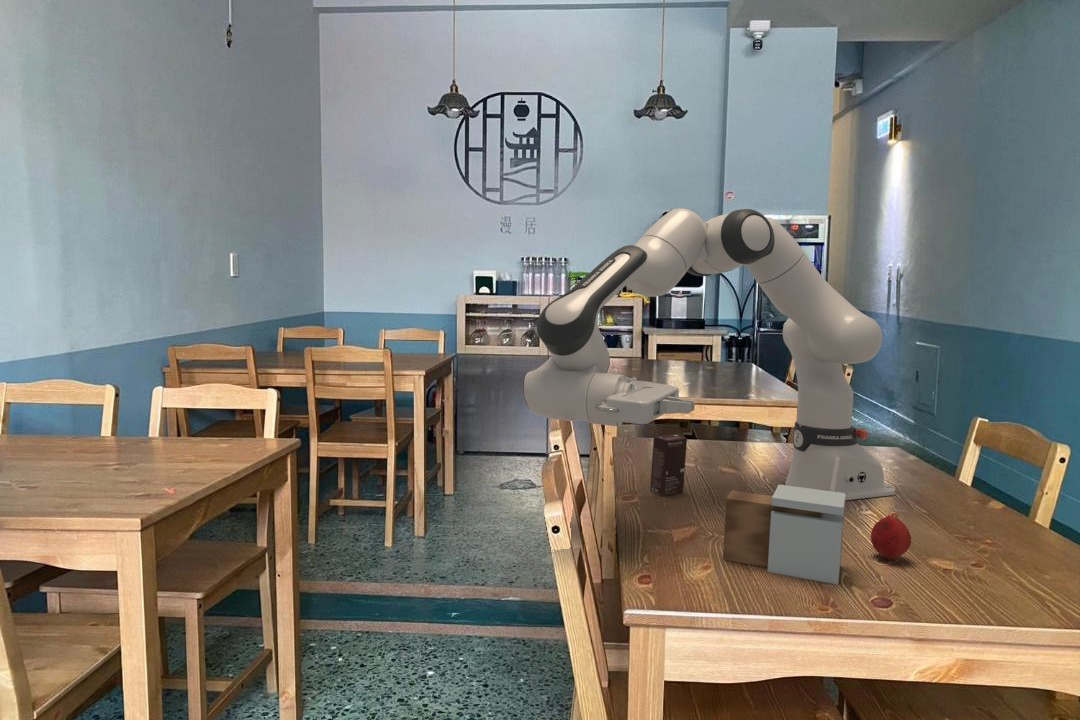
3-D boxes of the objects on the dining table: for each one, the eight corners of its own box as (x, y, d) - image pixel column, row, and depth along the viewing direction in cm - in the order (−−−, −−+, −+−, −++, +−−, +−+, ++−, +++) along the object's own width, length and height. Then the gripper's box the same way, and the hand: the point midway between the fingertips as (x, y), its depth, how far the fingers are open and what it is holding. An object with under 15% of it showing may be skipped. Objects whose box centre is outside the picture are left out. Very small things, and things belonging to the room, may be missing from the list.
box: (664, 497, 148) (666, 440, 147) (649, 492, 152) (651, 435, 150) (685, 493, 151) (688, 437, 150) (670, 488, 155) (672, 433, 154)
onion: (890, 569, 112) (894, 519, 112) (861, 556, 118) (864, 508, 117) (917, 564, 115) (921, 515, 114) (886, 551, 120) (890, 505, 119)
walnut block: (723, 559, 114) (726, 498, 113) (728, 549, 119) (732, 490, 118) (817, 576, 108) (821, 512, 107) (819, 565, 113) (823, 503, 112)
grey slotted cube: (767, 572, 110) (771, 497, 109) (774, 555, 117) (778, 484, 116) (838, 585, 106) (843, 507, 104) (840, 566, 113) (845, 493, 112)
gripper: (590, 388, 113) (677, 396, 107) (630, 375, 131) (706, 381, 125) (589, 428, 113) (675, 438, 107) (629, 409, 132) (705, 416, 126)
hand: (692, 407), depth 116 cm, fingers closed
